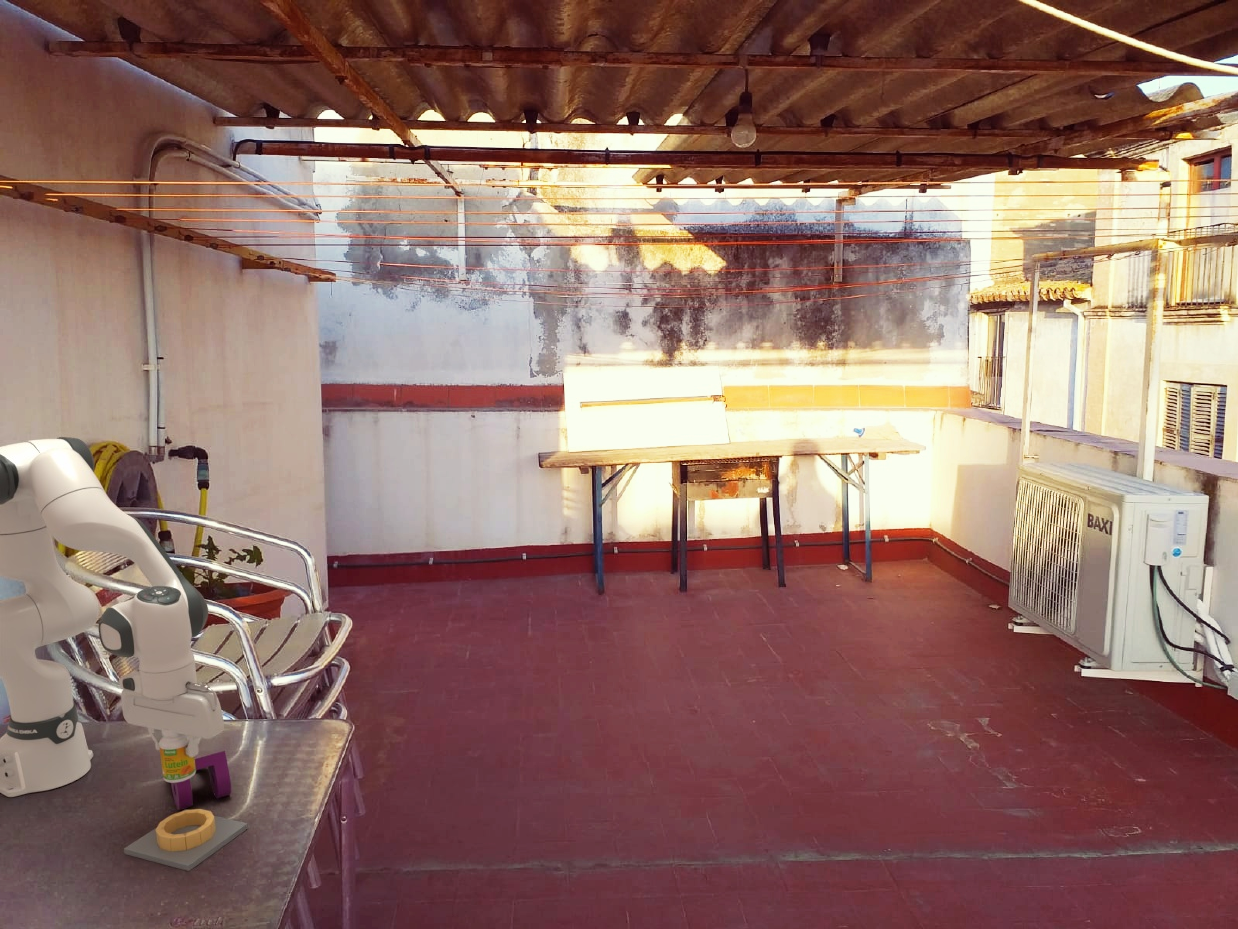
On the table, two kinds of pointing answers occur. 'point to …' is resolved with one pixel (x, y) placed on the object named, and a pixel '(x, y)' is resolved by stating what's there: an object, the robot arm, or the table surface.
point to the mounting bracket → (217, 777)
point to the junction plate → (188, 855)
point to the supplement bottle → (175, 757)
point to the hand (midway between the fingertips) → (177, 752)
